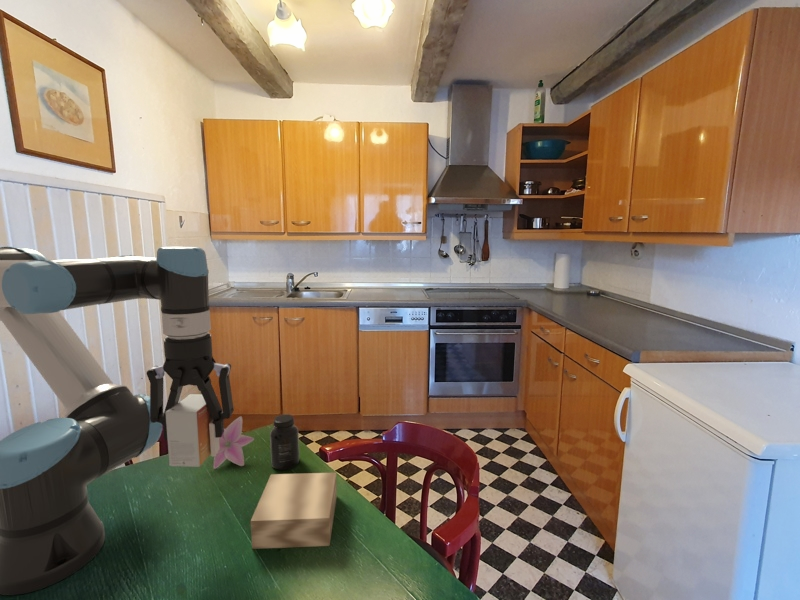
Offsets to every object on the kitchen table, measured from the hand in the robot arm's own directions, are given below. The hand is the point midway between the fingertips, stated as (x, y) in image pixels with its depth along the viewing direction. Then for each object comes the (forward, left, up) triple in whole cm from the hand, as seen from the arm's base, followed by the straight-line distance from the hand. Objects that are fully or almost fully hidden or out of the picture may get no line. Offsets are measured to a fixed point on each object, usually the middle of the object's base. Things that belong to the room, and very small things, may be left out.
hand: (195, 453), depth 73 cm
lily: (-1, +24, -16) cm, 29 cm away
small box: (0, 0, -1) cm, 1 cm away
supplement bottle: (+13, +21, -16) cm, 30 cm away
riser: (+18, 0, -16) cm, 24 cm away
